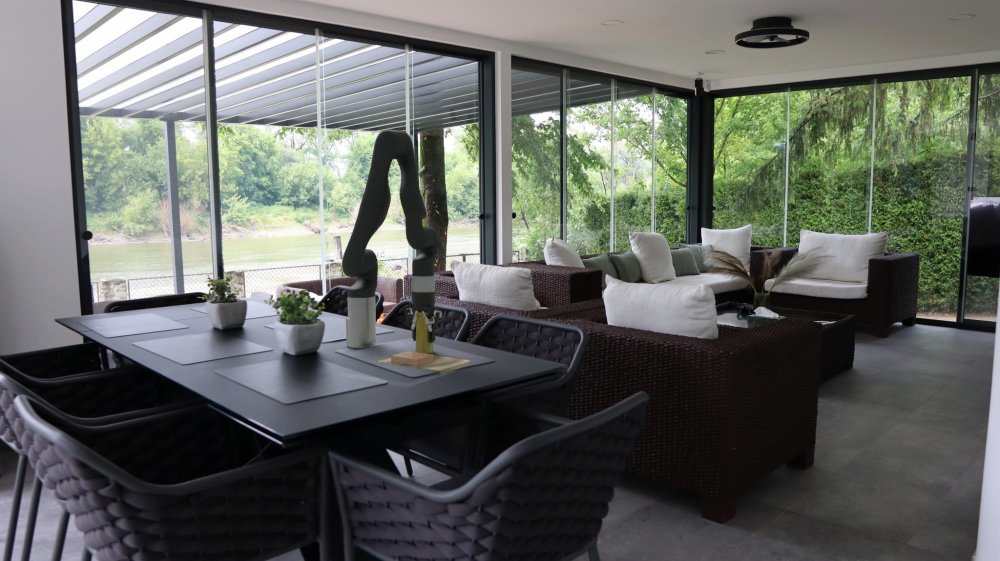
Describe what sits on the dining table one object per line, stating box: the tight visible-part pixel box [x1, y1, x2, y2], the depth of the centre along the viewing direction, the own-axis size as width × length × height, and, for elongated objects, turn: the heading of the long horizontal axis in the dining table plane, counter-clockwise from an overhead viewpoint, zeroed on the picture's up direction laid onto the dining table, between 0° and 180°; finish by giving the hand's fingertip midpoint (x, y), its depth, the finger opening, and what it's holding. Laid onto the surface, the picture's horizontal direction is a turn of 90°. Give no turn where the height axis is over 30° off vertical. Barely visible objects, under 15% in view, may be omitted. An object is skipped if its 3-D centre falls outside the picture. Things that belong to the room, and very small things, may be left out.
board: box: [375, 355, 472, 376], centre depth 221 cm, size 24×16×1 cm, turn 59°
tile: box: [390, 350, 435, 366], centre depth 220 cm, size 2×8×10 cm
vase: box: [414, 312, 434, 354], centre depth 234 cm, size 6×6×14 cm
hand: (423, 341), depth 235 cm, fingers closed on vase, 5 cm apart
